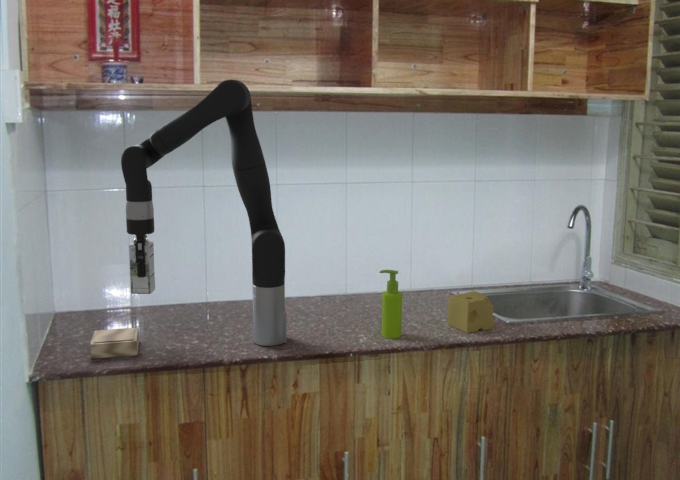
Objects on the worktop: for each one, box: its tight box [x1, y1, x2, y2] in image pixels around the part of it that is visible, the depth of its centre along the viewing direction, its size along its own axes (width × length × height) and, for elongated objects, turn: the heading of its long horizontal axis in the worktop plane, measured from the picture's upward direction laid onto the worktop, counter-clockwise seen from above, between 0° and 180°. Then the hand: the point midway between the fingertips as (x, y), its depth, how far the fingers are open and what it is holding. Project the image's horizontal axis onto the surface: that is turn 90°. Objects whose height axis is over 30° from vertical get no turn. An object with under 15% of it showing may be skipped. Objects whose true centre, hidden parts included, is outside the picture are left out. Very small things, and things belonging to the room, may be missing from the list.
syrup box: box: [128, 240, 156, 295], centre depth 192 cm, size 6×6×14 cm
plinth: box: [89, 327, 140, 360], centre depth 189 cm, size 12×12×4 cm
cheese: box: [447, 290, 495, 334], centre depth 210 cm, size 10×11×10 cm
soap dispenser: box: [379, 269, 403, 340], centre depth 201 cm, size 6×7×20 cm
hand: (142, 273), depth 192 cm, fingers closed on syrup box, 6 cm apart
